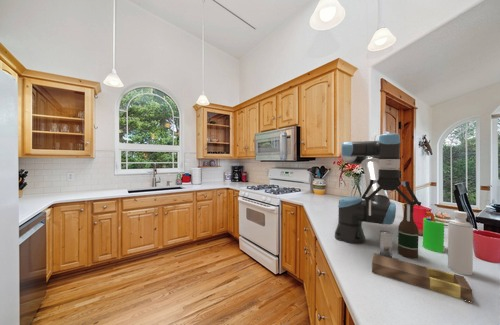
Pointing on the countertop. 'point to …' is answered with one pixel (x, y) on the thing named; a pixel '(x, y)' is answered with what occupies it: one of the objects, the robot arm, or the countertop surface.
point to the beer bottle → (408, 236)
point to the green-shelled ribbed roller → (433, 234)
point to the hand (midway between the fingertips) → (388, 217)
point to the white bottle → (460, 244)
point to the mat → (392, 257)
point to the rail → (423, 277)
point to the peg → (386, 244)
